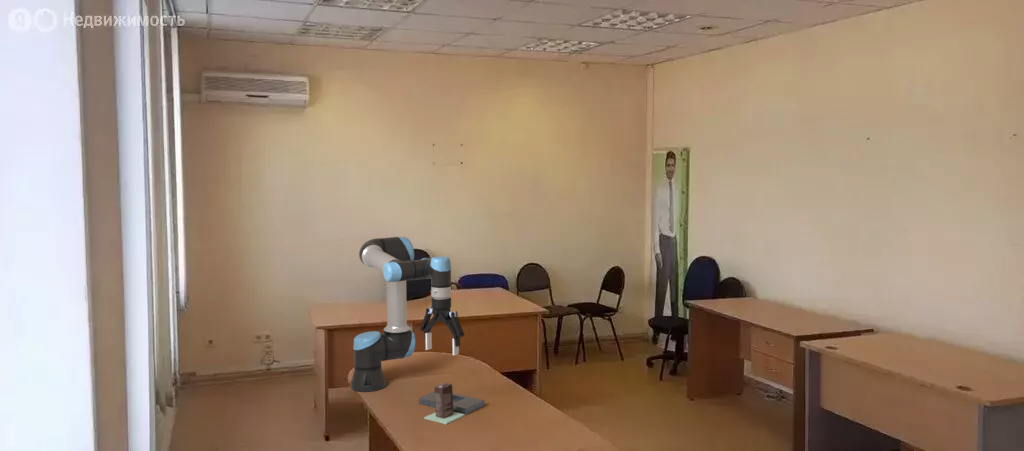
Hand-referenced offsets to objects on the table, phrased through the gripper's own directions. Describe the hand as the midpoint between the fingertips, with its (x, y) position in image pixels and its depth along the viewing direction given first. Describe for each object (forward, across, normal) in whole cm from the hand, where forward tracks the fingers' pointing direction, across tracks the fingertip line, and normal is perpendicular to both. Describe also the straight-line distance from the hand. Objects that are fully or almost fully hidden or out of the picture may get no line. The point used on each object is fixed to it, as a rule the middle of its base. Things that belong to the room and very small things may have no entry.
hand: (442, 351), depth 287 cm
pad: (+25, +3, -2) cm, 25 cm away
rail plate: (+25, -4, +10) cm, 27 cm away
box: (+24, +2, -2) cm, 25 cm away
